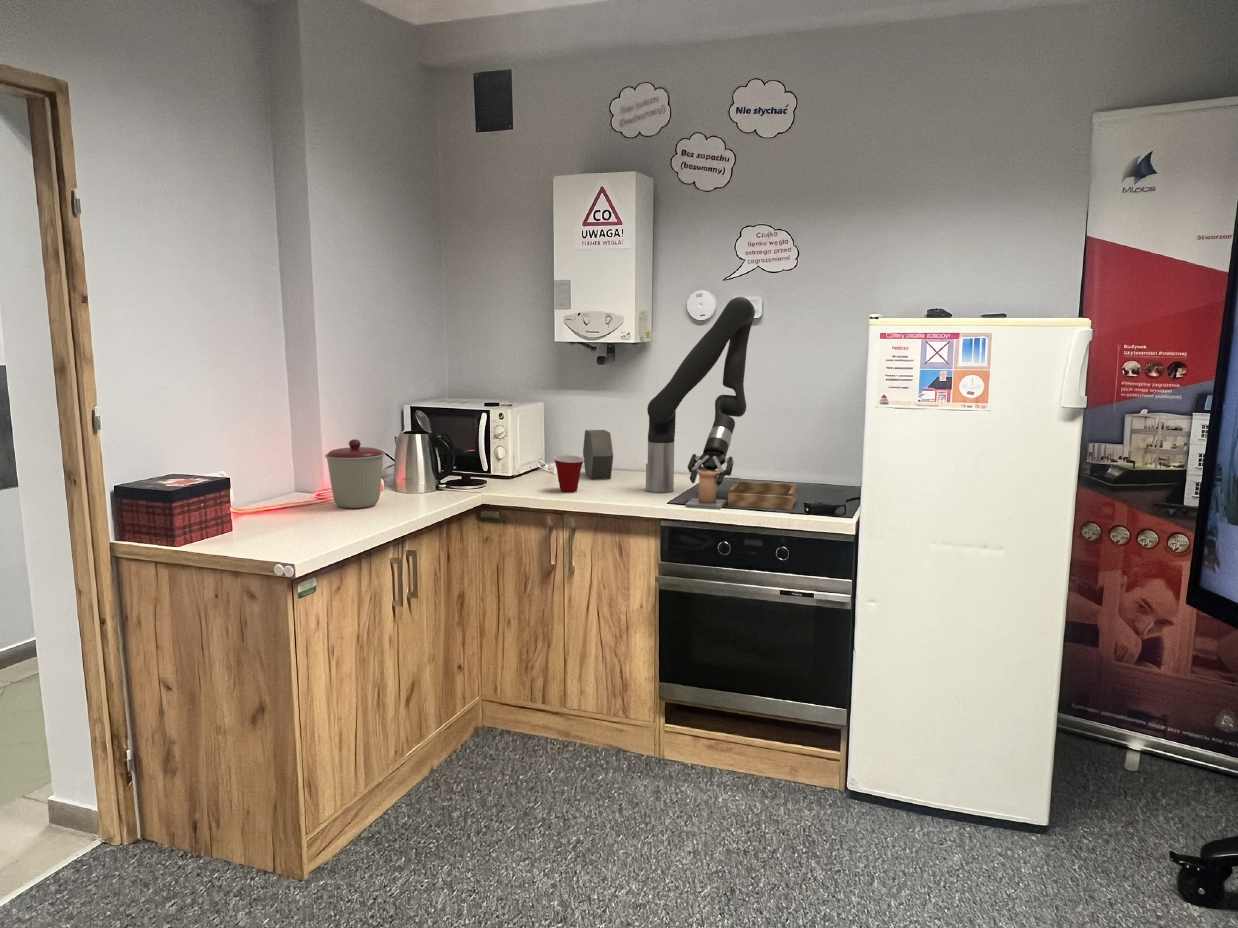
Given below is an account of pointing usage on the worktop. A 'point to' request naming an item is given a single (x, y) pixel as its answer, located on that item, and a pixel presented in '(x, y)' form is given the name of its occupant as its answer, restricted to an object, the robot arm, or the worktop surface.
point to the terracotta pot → (707, 485)
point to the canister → (355, 475)
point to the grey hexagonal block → (598, 454)
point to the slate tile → (705, 504)
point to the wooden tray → (762, 495)
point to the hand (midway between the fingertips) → (704, 483)
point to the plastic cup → (568, 471)
